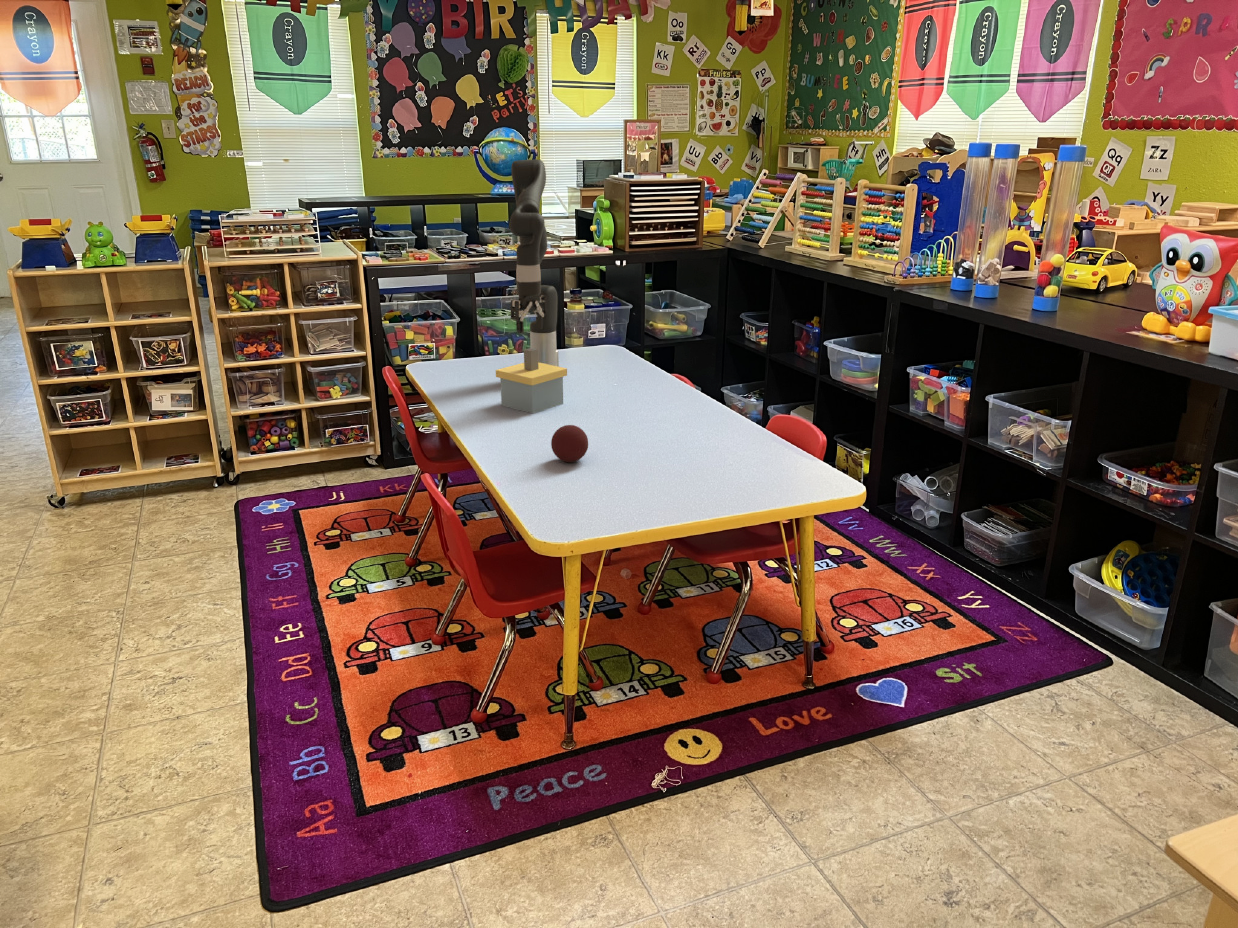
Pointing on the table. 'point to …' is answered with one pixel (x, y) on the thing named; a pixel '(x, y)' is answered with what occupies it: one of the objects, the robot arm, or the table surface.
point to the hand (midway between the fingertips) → (530, 330)
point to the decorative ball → (569, 443)
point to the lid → (531, 370)
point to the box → (532, 395)
